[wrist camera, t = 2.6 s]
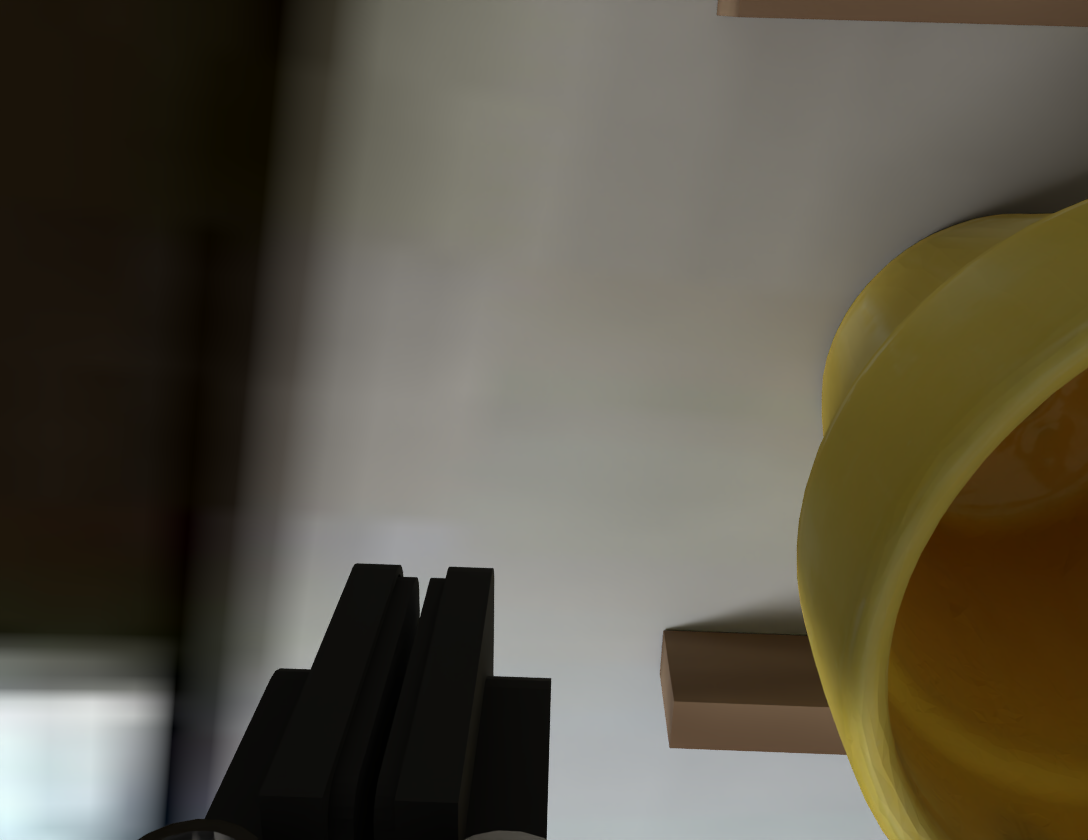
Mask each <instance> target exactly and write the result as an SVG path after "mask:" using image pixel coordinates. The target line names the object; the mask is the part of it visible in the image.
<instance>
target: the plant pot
mask: <svg viewBox="0 0 1088 840" xmlns="http://www.w3.org/2000/svg"><path fill="white" fill-rule="evenodd" d="M822 424H823V437H824V438H823V440H822V442H821V444H820V447H819V449H818V452H817V455H816V458H815V461H814V464H813V467H812V470H811V473H810V476H809V479H808V483H807V486H806V489H805V493H804V498H803V503H802V508H801V513H800V518H799V527H798V539H797V580H798V589H799V597H800V604H801V608H802V613H803V618H804V623H805V626H806V630H807V634H808V638H809V641H810V645H811V649H812V653H813V656H814V660H815V663H816V667H817V670H818V673H819V676H820V680H821V683H822V686H823V690H824V693H825V696H826V699H827V702H828V705H829V707H830V710H831V713H832V716H833V719H834V721H835V724H836V727H837V730H838V733H839V736H840V738H841V741H842V743H843V746H844V749H845V751H846V754H847V756H848V759H849V762H850V764H851V767H852V769H853V772H854V774H855V777H856V779H857V781H858V784H859V786H860V788H861V791H862V793H863V796H864V798H865V800H866V802H867V804H868V806H869V808H870V809H871V811H872V813H873V815H874V817H875V818H876V820H877V822H878V824H879V825H880V827H881V829H882V831H883V832H884V834H885V835H886V836H887V838H888V839H889V840H1088V199H1086V200H1084V201H1081V202H1079V203H1077V204H1074V205H1072V206H1069V207H1067V208H1065V209H1062V210H1060V211H1058V212H1055V213H1046V214H1000V215H992V216H986V217H981V218H976V219H972V220H969V221H966V222H963V223H960V224H957V225H954V226H951V227H949V228H946V229H944V230H941V231H939V232H936V233H934V234H932V235H930V236H928V237H926V238H924V239H922V240H921V241H919V242H918V243H916V244H914V245H913V246H911V247H910V248H908V249H906V250H905V251H904V252H903V253H901V254H900V255H899V256H897V257H896V258H895V259H893V260H892V261H891V262H890V263H889V264H888V265H886V266H885V267H884V268H883V269H882V270H881V271H880V272H879V273H878V274H877V275H876V276H875V277H874V278H873V279H872V280H871V281H870V282H869V283H868V284H867V286H866V287H865V288H864V289H863V291H862V292H861V293H860V294H859V296H858V297H857V298H856V300H855V301H854V302H853V304H852V305H851V307H850V308H849V310H848V311H847V313H846V315H845V317H844V318H843V320H842V322H841V324H840V326H839V328H838V330H837V332H836V335H835V337H834V339H833V342H832V345H831V348H830V351H829V353H828V356H827V361H826V365H825V370H824V375H823V386H822Z"/></svg>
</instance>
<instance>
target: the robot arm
mask: <svg viewBox="0 0 1088 840" xmlns="http://www.w3.org/2000/svg"><path fill="white" fill-rule="evenodd" d="M493 657H494V569H493V568H471V567H449V568H448V571H447V575H446V578H431V579H430V581H429V585H428V589H427V593H426V597H425V600H424V604H423V608H422V612H421V616H420V607H419V582H418V578H417V577H403V570H402V567H401V565H386V564H358V563H357V564H355V565H354V566H353V568H352V571H351V573H350V575H349V578H348V580H347V583H346V585H345V588H344V590H343V592H342V595H341V597H340V600H339V602H338V604H337V607H336V609H335V612H334V614H333V617H332V619H331V621H330V624H329V626H328V629H327V631H326V633H325V636H324V638H323V641H322V643H321V646H320V648H319V650H318V653H317V655H316V658H315V660H314V662H313V665H312V667H311V670H310V669H283V668H280V669H278V670H276V671H275V673H274V674H273V676H272V677H271V679H270V681H269V683H268V685H267V687H266V690H265V692H264V694H263V696H262V698H261V700H260V702H259V704H258V707H257V709H256V711H255V713H254V715H253V717H252V719H251V721H250V723H249V726H248V728H247V730H246V732H245V734H244V736H243V738H242V740H241V743H240V745H239V747H238V749H237V751H236V753H235V755H234V757H233V760H232V762H231V764H230V766H229V768H228V770H227V772H226V774H225V777H224V779H223V781H222V783H221V785H220V787H219V789H218V791H217V794H216V796H215V798H214V800H213V802H212V804H211V806H210V808H209V811H208V813H207V815H206V817H205V819H195V820H190V821H184V822H179V823H173V824H170V825H168V826H165V827H163V828H160V829H158V830H155V831H153V832H150V833H148V834H146V835H145V836H143V837H142V838H140V839H139V840H547V806H548V772H549V737H550V702H551V678H528V677H501V676H493Z"/></svg>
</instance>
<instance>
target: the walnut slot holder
mask: <svg viewBox="0 0 1088 840" xmlns="http://www.w3.org/2000/svg"><path fill="white" fill-rule="evenodd" d="M717 15H719V16H732V17H757V18H793V19H828V20H864V21H900V22H935V23H971V24H1007V25H1042V26H1078V27H1088V0H718V7H717ZM660 679H661V686H662V694H663V701H664V709H665V717H666V724H667V732H668V740H669V747H670V748H684V749H710V750H736V751H762V752H788V753H814V754H840V755H847V754H846V751H845V749H844V746H843V743H842V741H841V738H840V736H839V733H838V730H837V727H836V724H835V721H834V719H833V716H832V713H831V710H830V707H829V705H828V702H827V699H826V696H825V693H824V690H823V686H822V683H821V680H820V676H819V673H818V670H817V667H816V663H815V660H814V656H813V653H812V649H811V645H810V641H809V638H808V636H801V635H774V634H747V633H720V632H693V631H666V630H664V632H663V643H662V655H661V666H660Z"/></svg>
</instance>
